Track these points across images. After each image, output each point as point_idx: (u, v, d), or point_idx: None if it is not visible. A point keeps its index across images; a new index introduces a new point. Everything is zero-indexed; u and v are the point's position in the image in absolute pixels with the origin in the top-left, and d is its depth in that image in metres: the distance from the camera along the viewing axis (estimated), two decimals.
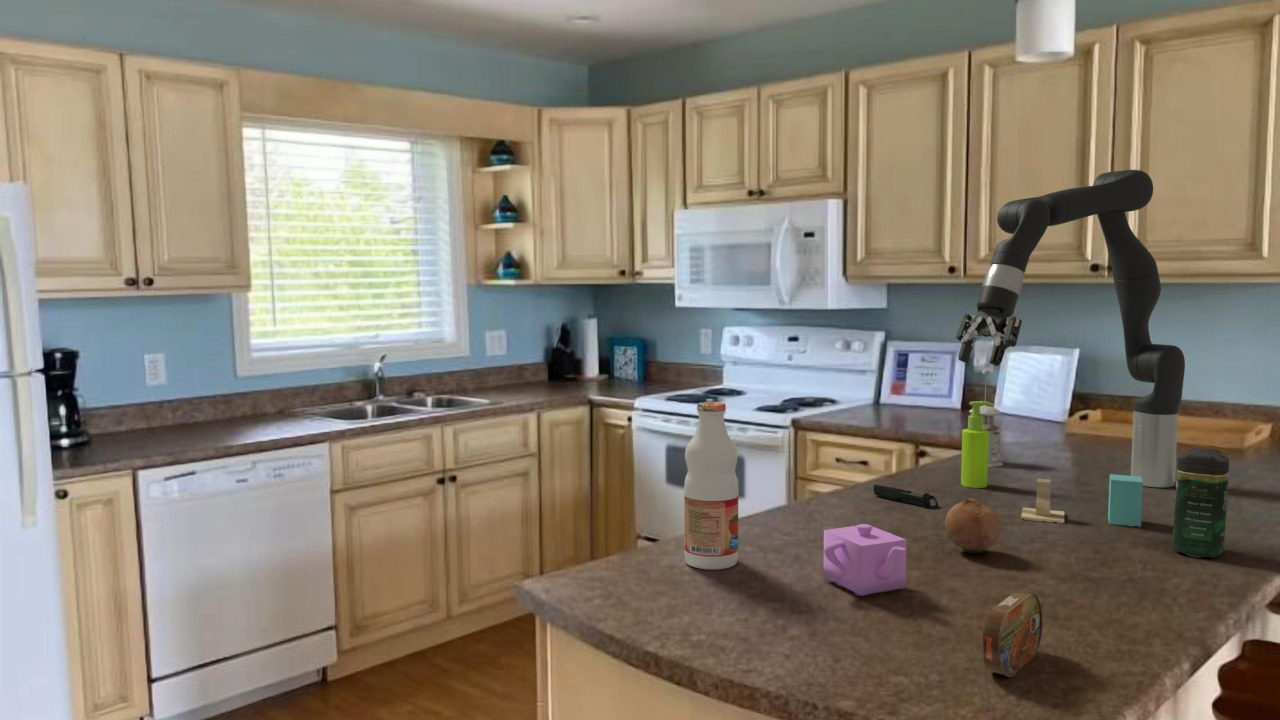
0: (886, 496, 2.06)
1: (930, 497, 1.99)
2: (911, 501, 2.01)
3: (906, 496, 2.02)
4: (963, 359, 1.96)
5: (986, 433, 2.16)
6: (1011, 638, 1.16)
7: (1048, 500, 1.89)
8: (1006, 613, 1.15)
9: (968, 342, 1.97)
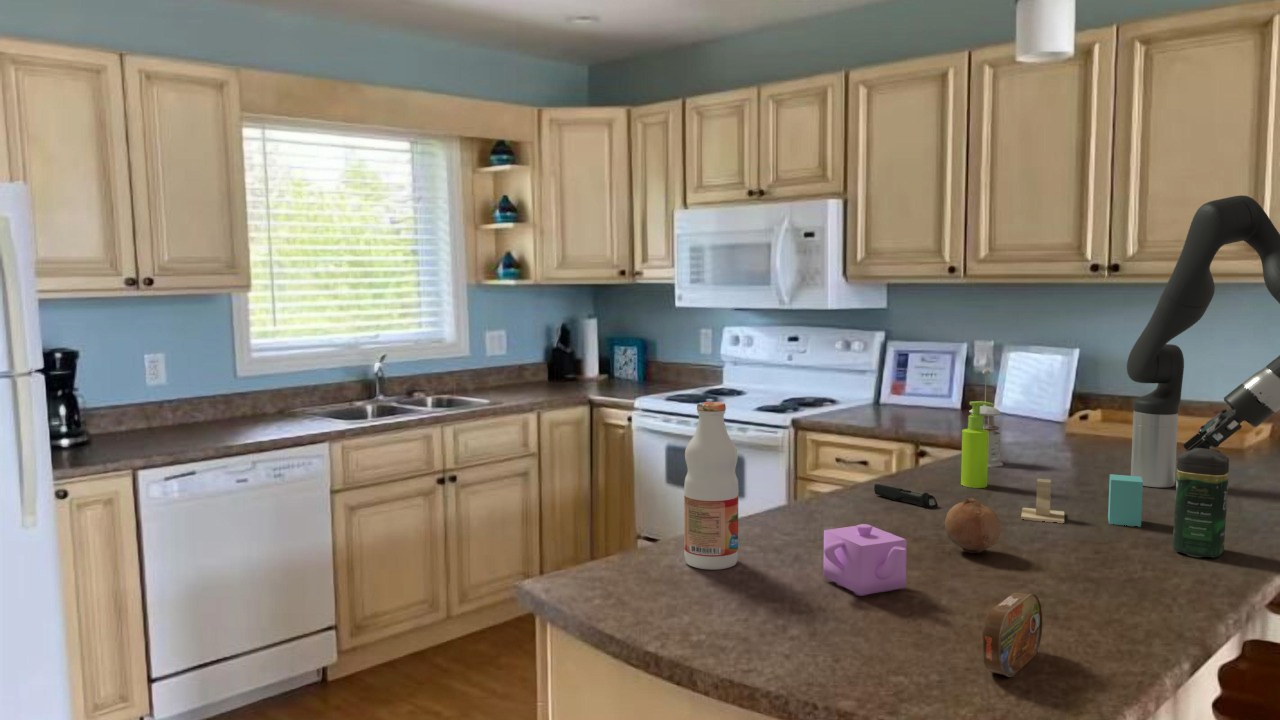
0: (886, 495, 2.06)
1: (929, 497, 1.99)
2: (910, 501, 2.02)
3: (905, 495, 2.02)
4: None
5: (986, 433, 2.16)
6: (1011, 638, 1.16)
7: (1048, 500, 1.89)
8: (1006, 613, 1.15)
9: None
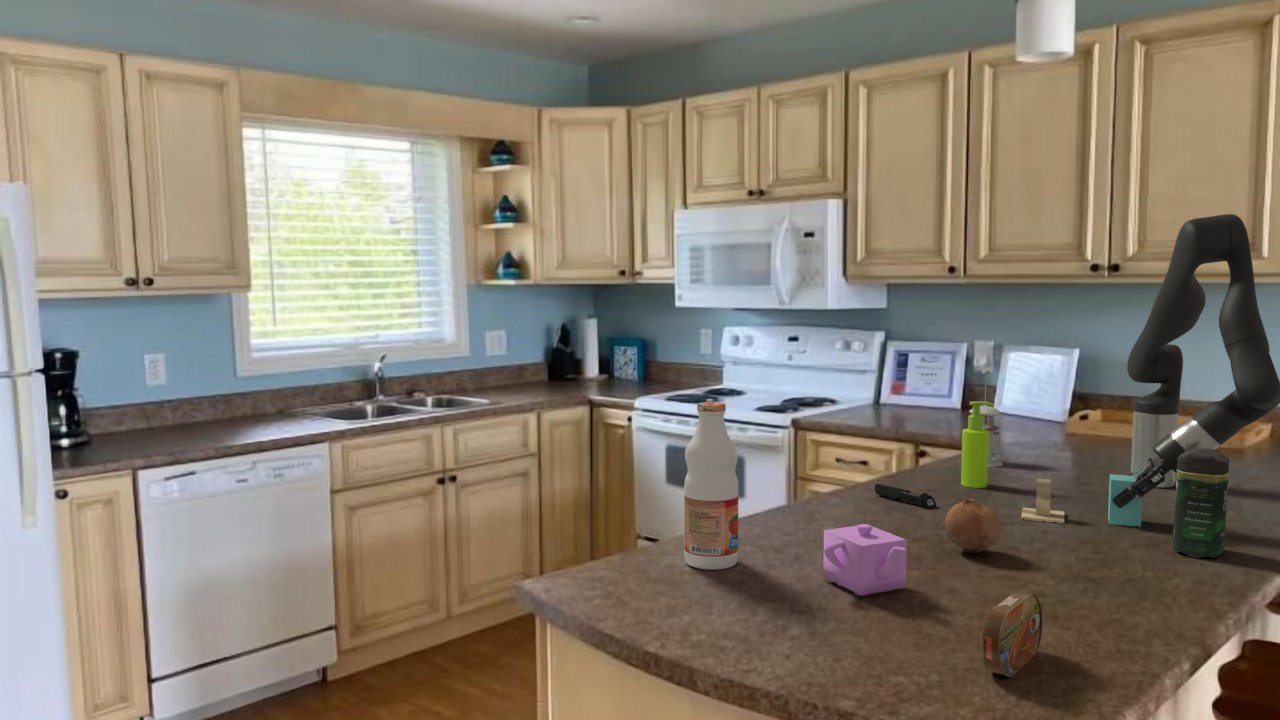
0: (886, 495, 2.07)
1: (927, 497, 1.99)
2: (909, 501, 2.02)
3: (904, 495, 2.02)
4: None
5: (986, 433, 2.16)
6: (1011, 638, 1.16)
7: (1048, 500, 1.89)
8: (1006, 613, 1.15)
9: None
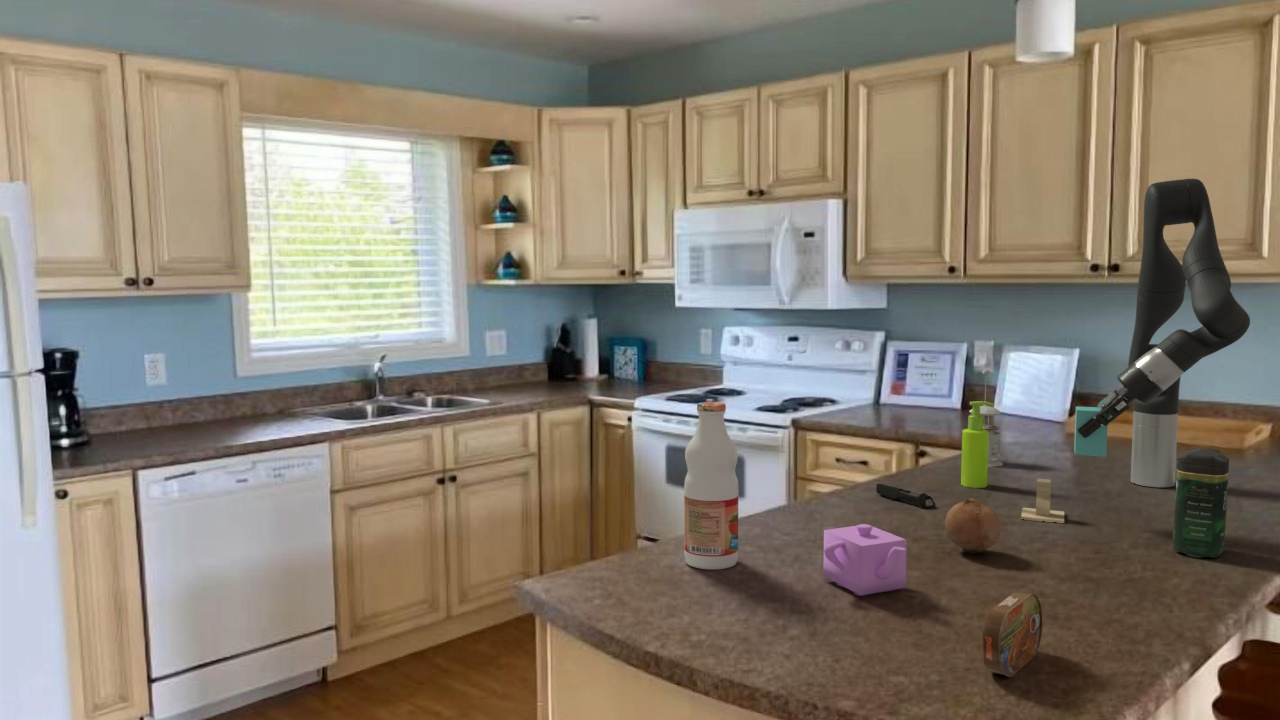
0: (886, 495, 2.07)
1: (926, 497, 1.99)
2: (909, 501, 2.02)
3: (904, 495, 2.03)
4: None
5: (986, 433, 2.16)
6: (1011, 638, 1.16)
7: (1048, 500, 1.89)
8: (1006, 613, 1.15)
9: None
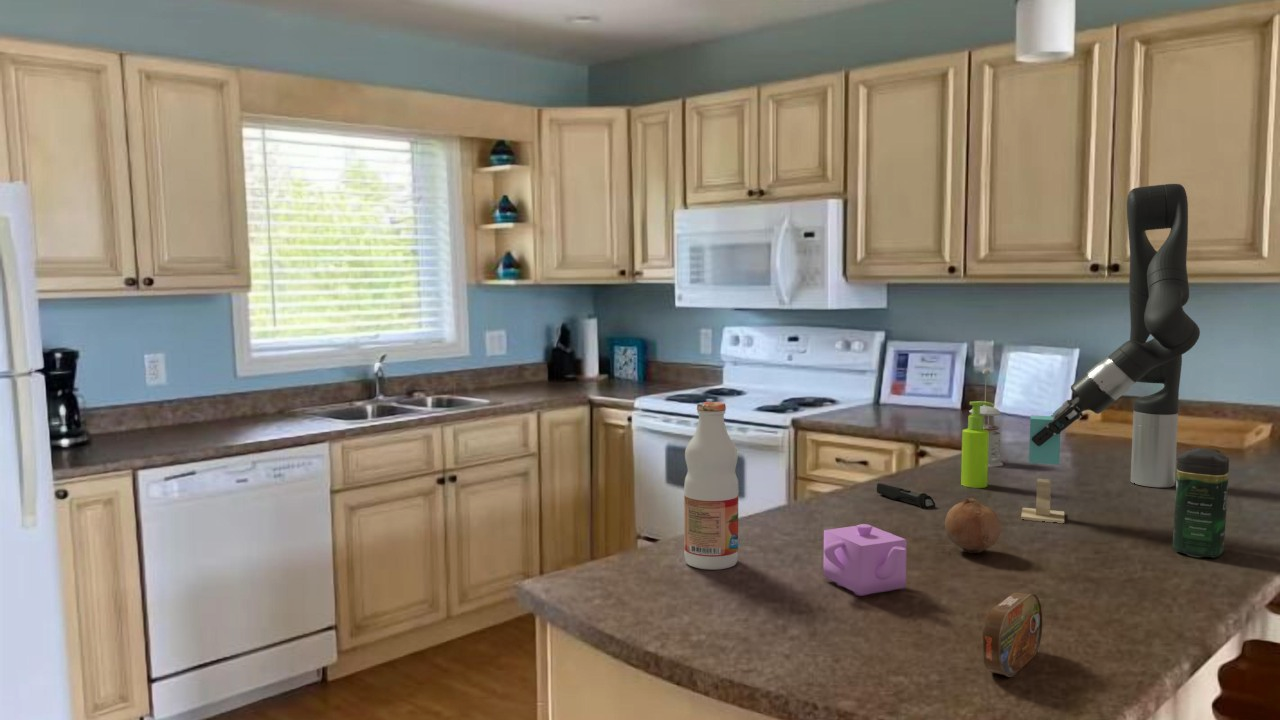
0: (887, 495, 2.07)
1: (926, 497, 1.99)
2: (909, 500, 2.02)
3: (904, 495, 2.03)
4: None
5: (986, 433, 2.16)
6: (1011, 638, 1.16)
7: (1048, 500, 1.89)
8: (1006, 613, 1.15)
9: None
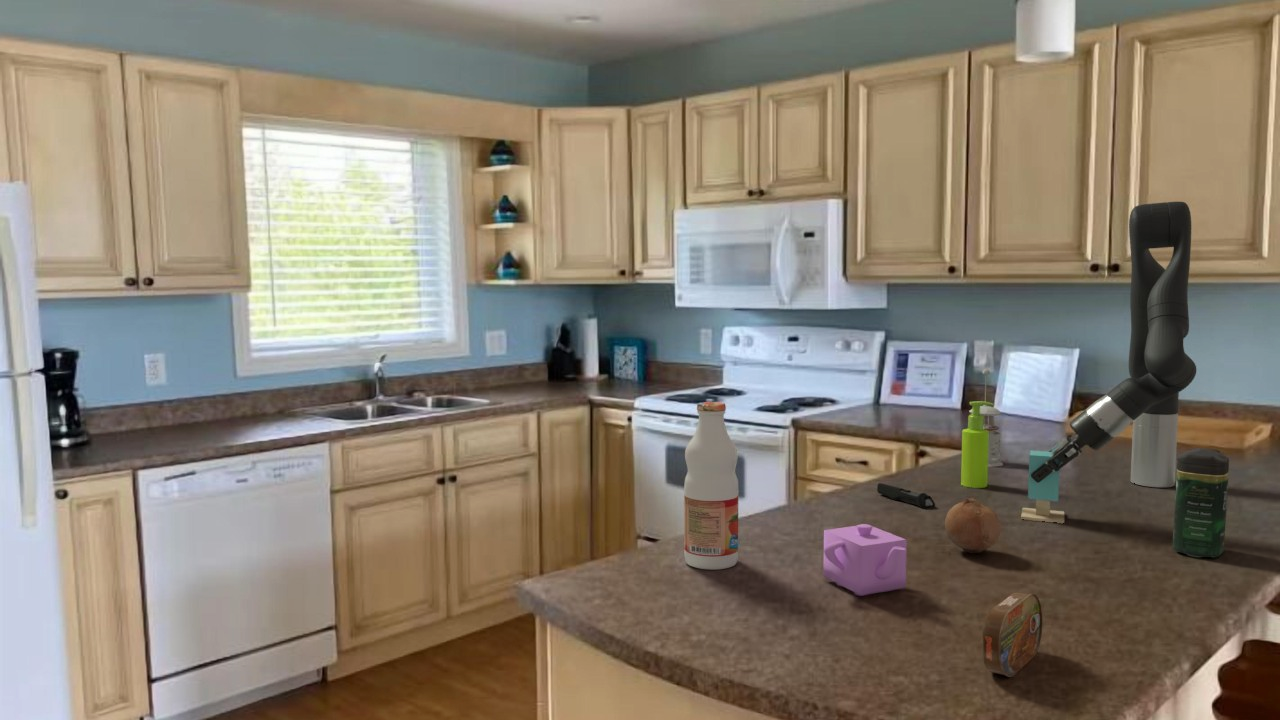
0: (887, 495, 2.07)
1: (926, 497, 1.99)
2: (908, 500, 2.02)
3: (904, 495, 2.03)
4: None
5: (986, 433, 2.16)
6: (1011, 638, 1.16)
7: (1048, 500, 1.89)
8: (1006, 613, 1.15)
9: None
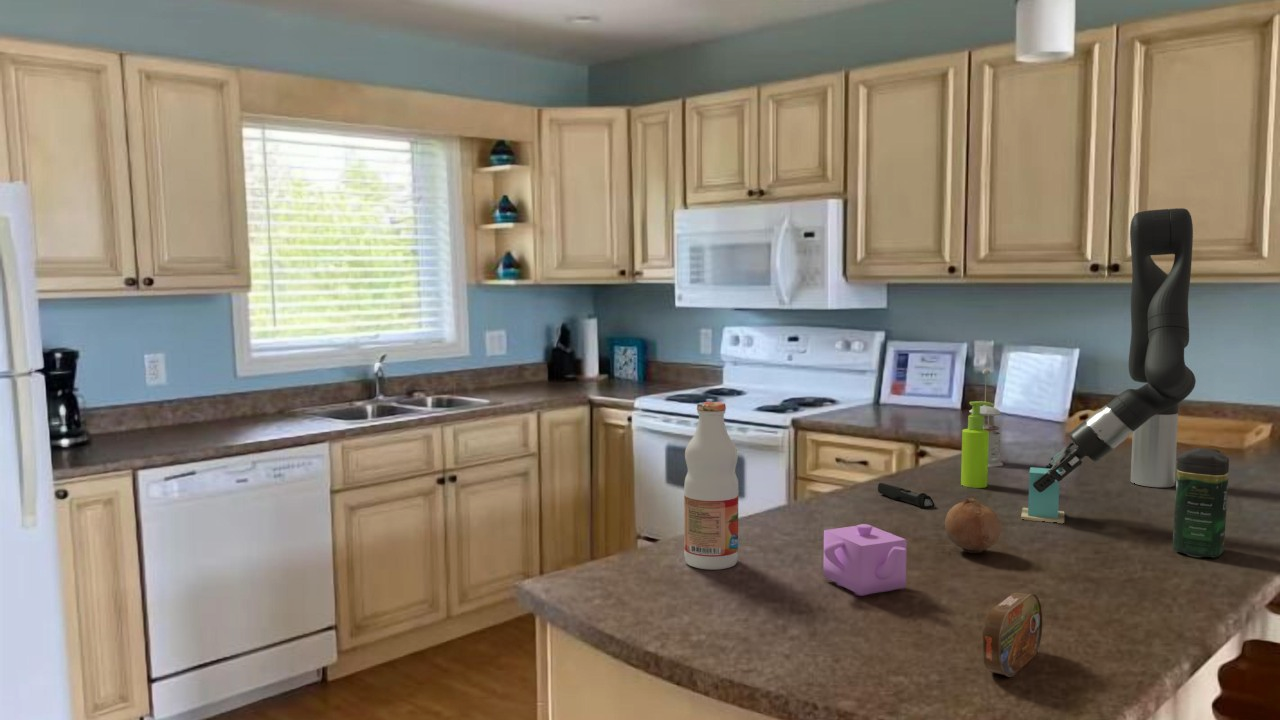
0: (887, 494, 2.07)
1: (925, 497, 1.99)
2: (908, 500, 2.02)
3: (904, 495, 2.03)
4: None
5: (986, 433, 2.16)
6: (1011, 638, 1.16)
7: None
8: (1006, 613, 1.15)
9: None
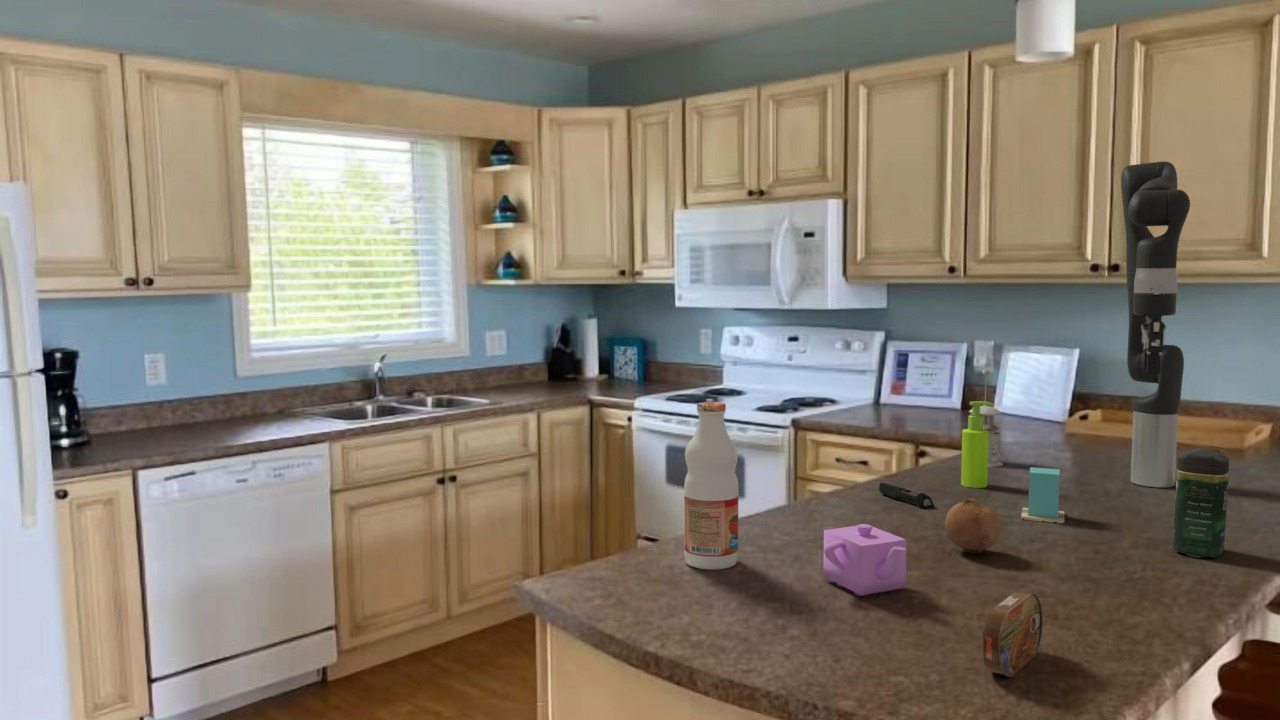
0: (888, 494, 2.08)
1: (924, 497, 1.99)
2: (908, 500, 2.02)
3: (903, 495, 2.03)
4: None
5: (986, 433, 2.16)
6: (1011, 638, 1.16)
7: None
8: (1006, 613, 1.15)
9: None
